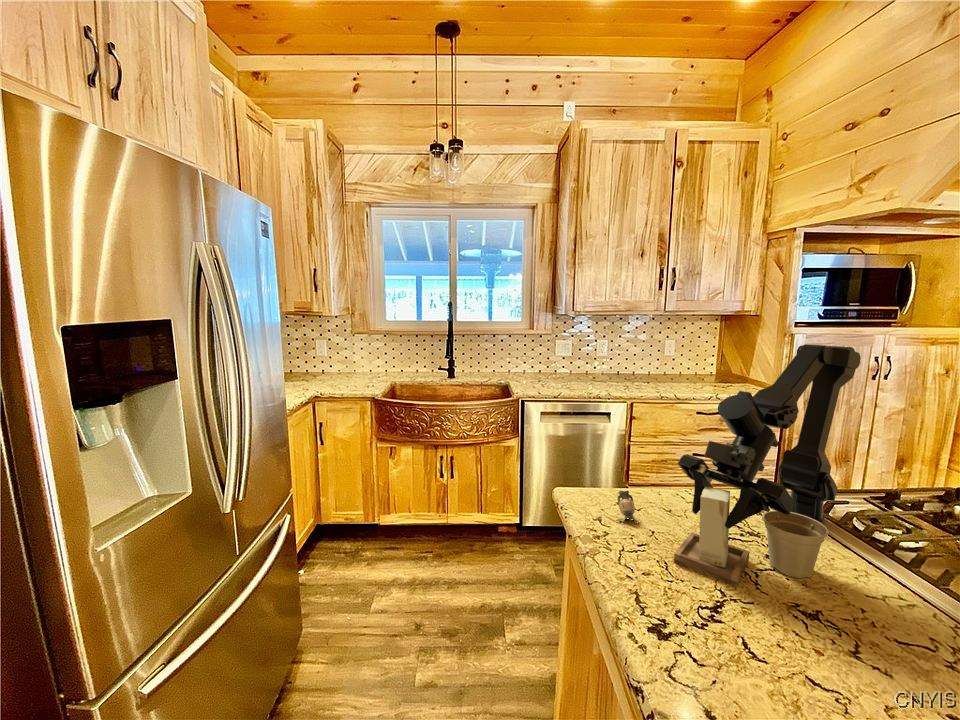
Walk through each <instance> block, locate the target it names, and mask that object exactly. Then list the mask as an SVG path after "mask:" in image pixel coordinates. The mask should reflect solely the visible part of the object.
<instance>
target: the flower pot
mask: <svg viewBox="0 0 960 720" xmlns="http://www.w3.org/2000/svg"><path fill="white" fill-rule="evenodd" d="M761 519H762V521H763V523H764V527H765V529H766V537H767V538H766V539H767V545H768V560H769V564H770V565H771V566H772V568H775V569H777V570H778V571H779V572H780V573H781V574H784V575H786V576H790V577H791V578H792V577H793V578H798V579H804V578H807V577H808V578H811V577H812V576H813V574H814V569H815V566H816V563H817V558H818V556H819V553H820V550H821V546H822V544H823V543H824V542H825V539H826V538H827V537H828V535H829V533H830V532H829V529H828V528H827V526H826V525H825V524H824V525H823V524H822V523H820V522H818V521H816V520H814V519H812V518H810V517H807V516H804V515H801V514H797V513H793V512H790V514H784V513H781V512H779V511H776V510H773V509H772V510H770V511H769V512H766V511H763V513H762V515H761Z"/></svg>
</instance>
